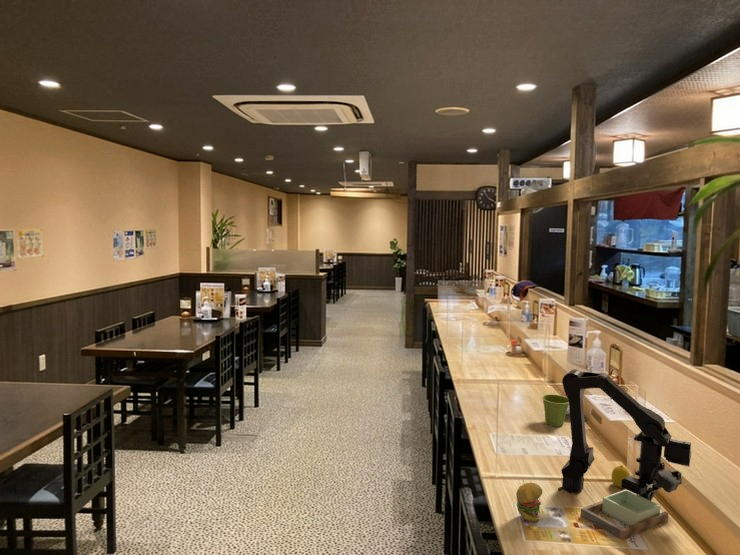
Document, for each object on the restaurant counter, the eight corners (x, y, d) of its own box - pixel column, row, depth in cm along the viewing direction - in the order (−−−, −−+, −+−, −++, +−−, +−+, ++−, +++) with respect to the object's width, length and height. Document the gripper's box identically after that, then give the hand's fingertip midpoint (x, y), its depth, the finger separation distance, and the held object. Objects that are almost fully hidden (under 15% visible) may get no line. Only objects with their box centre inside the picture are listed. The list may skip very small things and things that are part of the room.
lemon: (606, 486, 185) (608, 463, 185) (619, 483, 188) (621, 460, 187) (620, 494, 180) (622, 470, 180) (632, 491, 183) (634, 467, 182)
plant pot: (536, 424, 240) (538, 399, 239) (545, 417, 250) (546, 392, 249) (564, 431, 234) (566, 405, 232) (572, 423, 243) (574, 398, 242)
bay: (622, 543, 152) (623, 531, 152) (580, 519, 164) (581, 508, 164) (667, 524, 163) (668, 512, 163) (624, 502, 175) (625, 492, 174)
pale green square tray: (636, 529, 157) (637, 514, 157) (602, 511, 167) (603, 497, 166) (659, 520, 163) (660, 505, 163) (625, 503, 172) (626, 489, 172)
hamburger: (542, 527, 159) (544, 487, 158) (516, 524, 160) (518, 484, 159) (538, 513, 167) (541, 474, 166) (513, 510, 168) (516, 472, 167)
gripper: (658, 474, 156) (653, 528, 157) (695, 461, 165) (690, 511, 167) (621, 459, 165) (617, 509, 167) (658, 447, 175) (654, 495, 176)
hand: (645, 506), depth 169 cm, fingers closed
